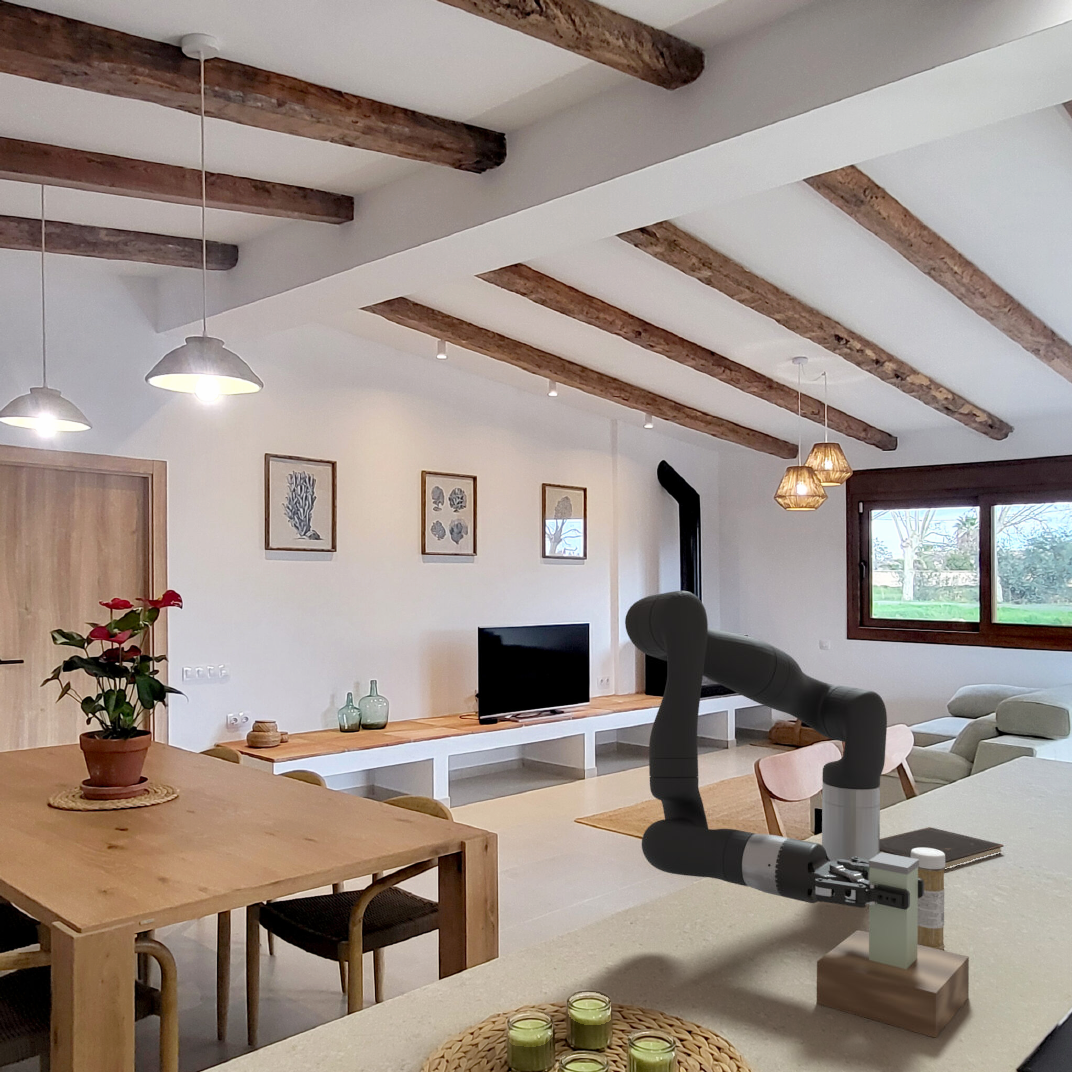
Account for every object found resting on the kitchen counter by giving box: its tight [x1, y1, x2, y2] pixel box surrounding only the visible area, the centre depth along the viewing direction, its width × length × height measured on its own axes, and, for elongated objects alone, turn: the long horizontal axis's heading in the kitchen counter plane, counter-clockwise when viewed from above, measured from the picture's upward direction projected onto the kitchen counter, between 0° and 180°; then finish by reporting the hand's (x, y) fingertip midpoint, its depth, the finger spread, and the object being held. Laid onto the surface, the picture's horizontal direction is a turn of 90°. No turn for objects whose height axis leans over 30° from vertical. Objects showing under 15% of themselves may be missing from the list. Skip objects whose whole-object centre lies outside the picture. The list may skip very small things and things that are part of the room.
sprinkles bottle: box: [911, 848, 945, 951], centre depth 141 cm, size 5×5×14 cm
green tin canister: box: [868, 852, 919, 969], centre depth 123 cm, size 5×5×12 cm
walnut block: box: [816, 929, 970, 1039], centre depth 123 cm, size 14×14×5 cm
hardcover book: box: [880, 826, 1004, 868], centre depth 188 cm, size 16×23×2 cm
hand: (915, 894), depth 121 cm, fingers open, 5 cm apart
